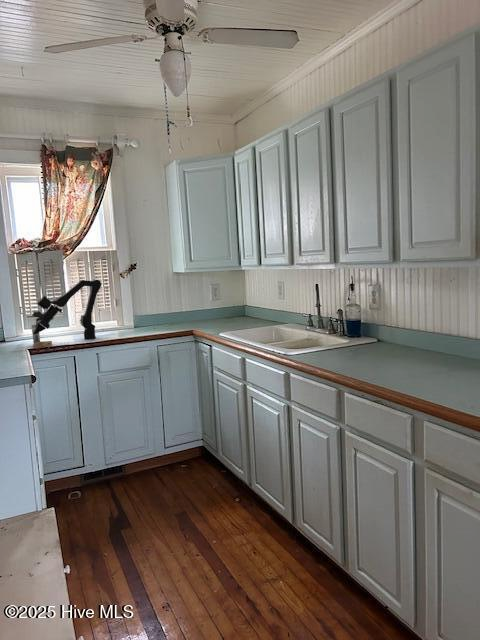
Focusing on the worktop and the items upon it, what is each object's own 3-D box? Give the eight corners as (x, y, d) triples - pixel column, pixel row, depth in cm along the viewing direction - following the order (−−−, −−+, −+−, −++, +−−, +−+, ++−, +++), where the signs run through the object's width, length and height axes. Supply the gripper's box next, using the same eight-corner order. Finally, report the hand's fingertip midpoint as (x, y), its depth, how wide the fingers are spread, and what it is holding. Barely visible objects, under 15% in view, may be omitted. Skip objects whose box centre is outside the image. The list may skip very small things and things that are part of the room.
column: (41, 342, 303) (39, 324, 301) (39, 344, 299) (37, 325, 297) (34, 343, 302) (32, 324, 301) (32, 344, 298) (30, 325, 297)
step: (52, 344, 299) (51, 340, 299) (49, 347, 290) (48, 343, 290) (36, 345, 297) (36, 342, 297) (33, 348, 289) (32, 344, 288)
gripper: (37, 305, 307) (20, 324, 303) (41, 307, 291) (24, 327, 287) (51, 315, 312) (35, 334, 308) (56, 318, 296) (39, 338, 292)
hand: (33, 333), depth 299 cm, fingers closed on column, 4 cm apart
